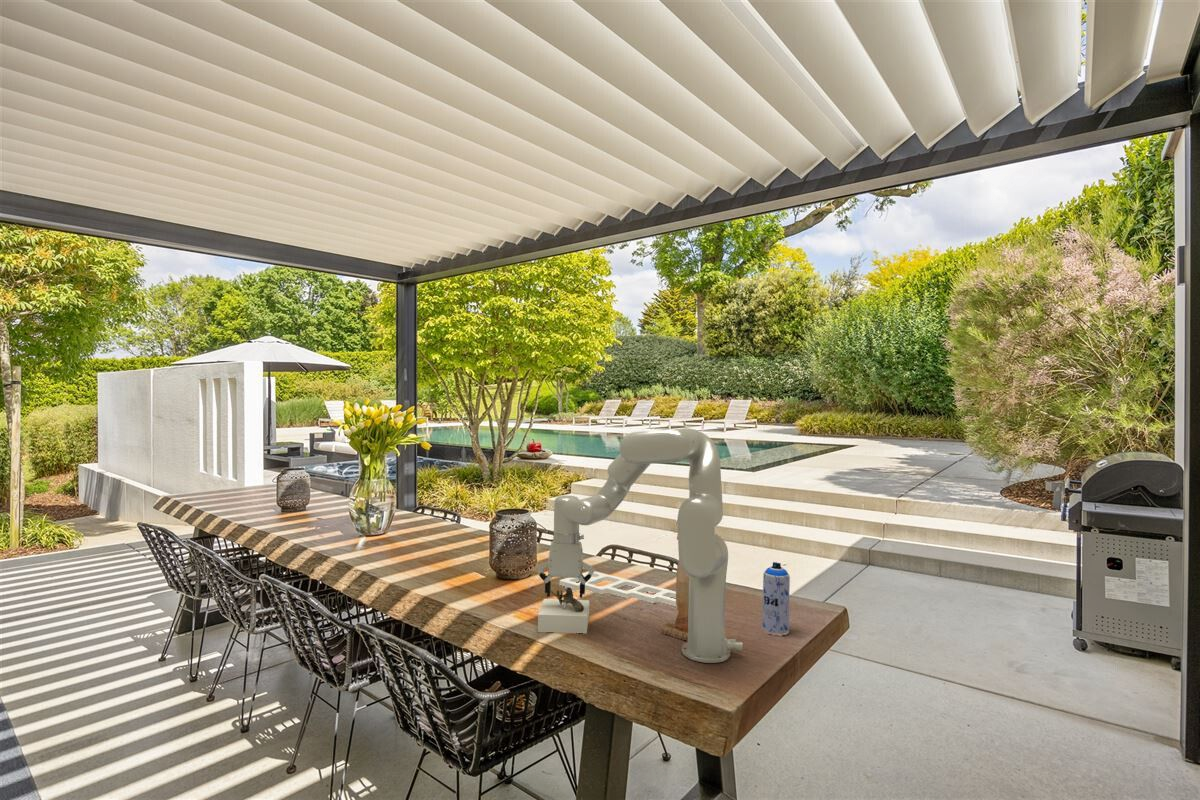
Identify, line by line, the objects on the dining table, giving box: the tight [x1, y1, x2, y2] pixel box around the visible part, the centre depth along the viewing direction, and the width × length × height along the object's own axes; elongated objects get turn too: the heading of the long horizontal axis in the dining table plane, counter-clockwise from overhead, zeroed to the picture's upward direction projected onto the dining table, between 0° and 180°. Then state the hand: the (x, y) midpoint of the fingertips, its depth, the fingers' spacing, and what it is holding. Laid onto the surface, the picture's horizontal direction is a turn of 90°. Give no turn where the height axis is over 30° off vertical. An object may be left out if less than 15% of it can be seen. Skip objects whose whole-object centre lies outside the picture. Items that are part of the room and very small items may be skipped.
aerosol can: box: [761, 561, 791, 634], centre depth 177 cm, size 8×8×20 cm
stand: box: [537, 598, 590, 635], centre depth 179 cm, size 14×14×5 cm
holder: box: [559, 570, 677, 607], centre depth 208 cm, size 45×18×3 cm, turn 51°
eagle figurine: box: [550, 587, 584, 612], centre depth 178 cm, size 8×7×9 cm
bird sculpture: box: [660, 534, 690, 642], centre depth 174 cm, size 11×12×32 cm
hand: (564, 596), depth 179 cm, fingers open, 9 cm apart
